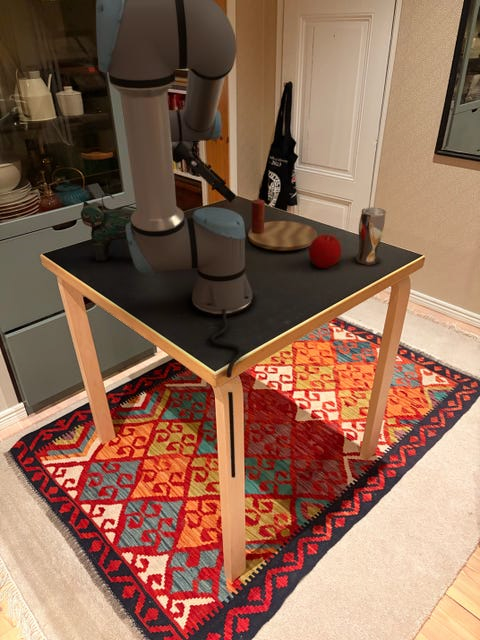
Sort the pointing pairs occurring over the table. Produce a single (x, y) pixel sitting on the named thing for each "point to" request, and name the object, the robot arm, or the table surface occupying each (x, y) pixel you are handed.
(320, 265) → the fruit
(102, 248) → the ceramic cat
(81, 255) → the table surface
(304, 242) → the wooden round stand
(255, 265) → the table surface
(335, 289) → the table surface
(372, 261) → the beer glass
